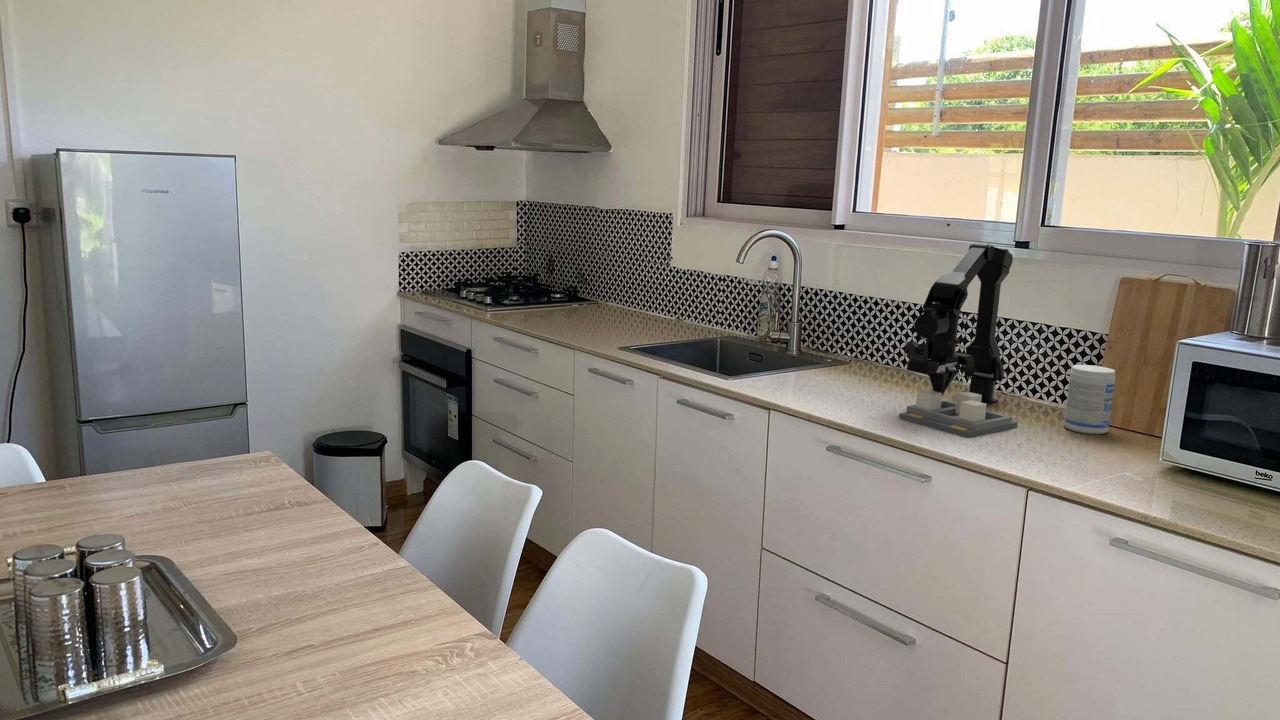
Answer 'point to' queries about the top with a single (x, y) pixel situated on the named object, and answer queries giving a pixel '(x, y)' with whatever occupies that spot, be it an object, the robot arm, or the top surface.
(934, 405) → the beige grey rectangular block
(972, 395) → the light grey block
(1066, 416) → the supplement tub
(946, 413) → the grey compartment tray
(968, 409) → the light grey block
